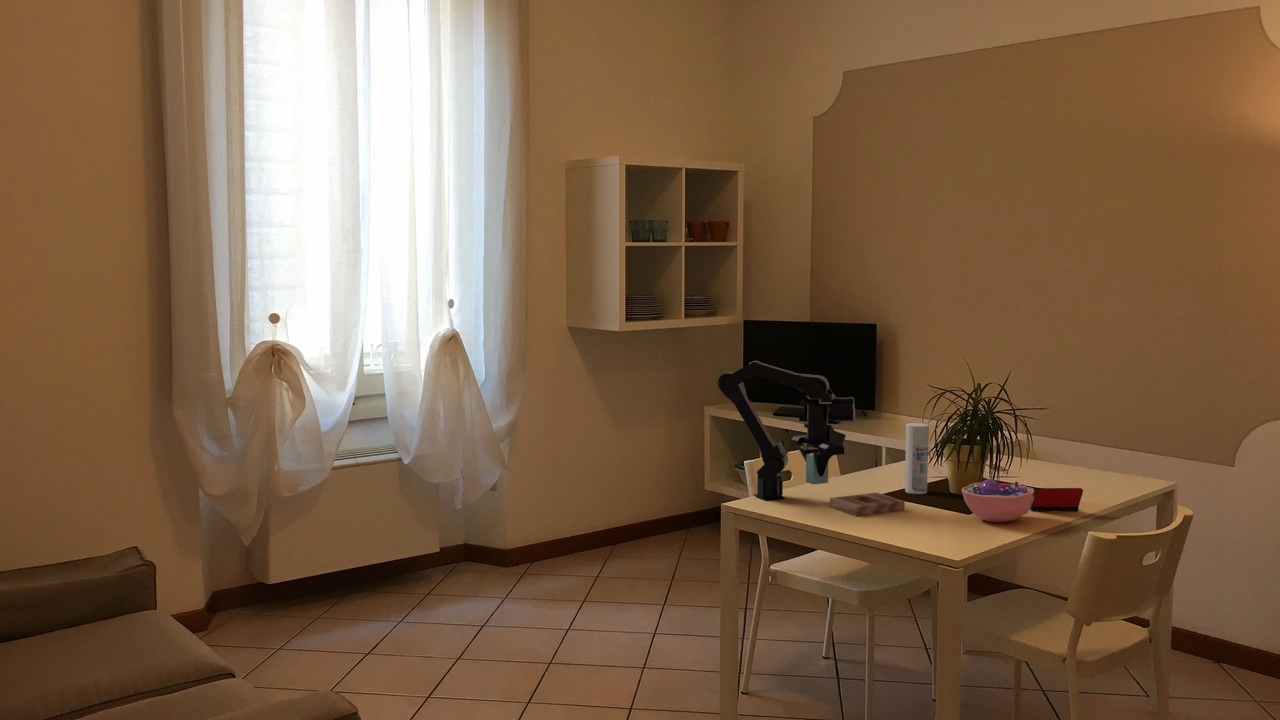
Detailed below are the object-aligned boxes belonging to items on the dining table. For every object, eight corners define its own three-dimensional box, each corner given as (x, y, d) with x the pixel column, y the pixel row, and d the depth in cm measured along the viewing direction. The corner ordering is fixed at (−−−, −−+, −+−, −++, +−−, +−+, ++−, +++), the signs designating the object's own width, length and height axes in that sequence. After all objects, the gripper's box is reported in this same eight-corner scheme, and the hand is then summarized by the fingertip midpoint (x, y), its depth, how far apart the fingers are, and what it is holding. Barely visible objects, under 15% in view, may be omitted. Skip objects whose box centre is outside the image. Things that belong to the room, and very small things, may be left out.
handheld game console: (1068, 506, 280) (1069, 479, 279) (1083, 515, 269) (1084, 488, 269) (1022, 505, 281) (1023, 479, 280) (1035, 515, 270) (1036, 487, 269)
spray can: (917, 488, 302) (918, 422, 300) (932, 492, 296) (933, 425, 295) (900, 490, 299) (901, 423, 298) (914, 495, 294) (916, 426, 292)
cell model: (1050, 522, 262) (1052, 479, 261) (997, 532, 252) (998, 487, 251) (998, 509, 276) (999, 468, 275) (945, 518, 266) (946, 475, 265)
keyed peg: (813, 484, 284) (813, 454, 283) (806, 482, 287) (806, 452, 286) (828, 482, 286) (828, 453, 285) (820, 480, 289) (821, 451, 288)
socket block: (856, 516, 269) (856, 507, 268) (829, 506, 279) (829, 497, 279) (904, 510, 275) (904, 501, 275) (876, 501, 286) (877, 492, 286)
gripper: (861, 423, 280) (860, 478, 281) (822, 414, 297) (821, 467, 298) (827, 425, 275) (827, 482, 277) (790, 417, 292) (789, 470, 294)
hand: (817, 475), depth 286 cm, fingers closed on keyed peg, 4 cm apart
